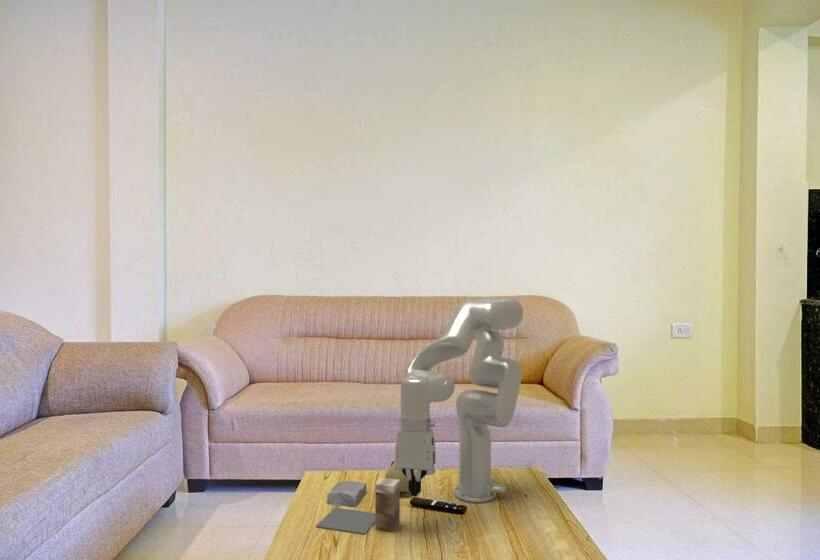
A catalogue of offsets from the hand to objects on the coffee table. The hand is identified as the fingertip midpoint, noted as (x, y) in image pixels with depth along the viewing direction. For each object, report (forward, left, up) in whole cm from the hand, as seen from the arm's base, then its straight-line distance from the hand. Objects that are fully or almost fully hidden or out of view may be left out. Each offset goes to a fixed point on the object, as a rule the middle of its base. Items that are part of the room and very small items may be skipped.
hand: (414, 494), depth 148 cm
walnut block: (+7, 0, -10) cm, 12 cm away
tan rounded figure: (+11, -24, -10) cm, 28 cm away
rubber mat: (+18, 0, -10) cm, 21 cm away
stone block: (+26, -14, -10) cm, 31 cm away
